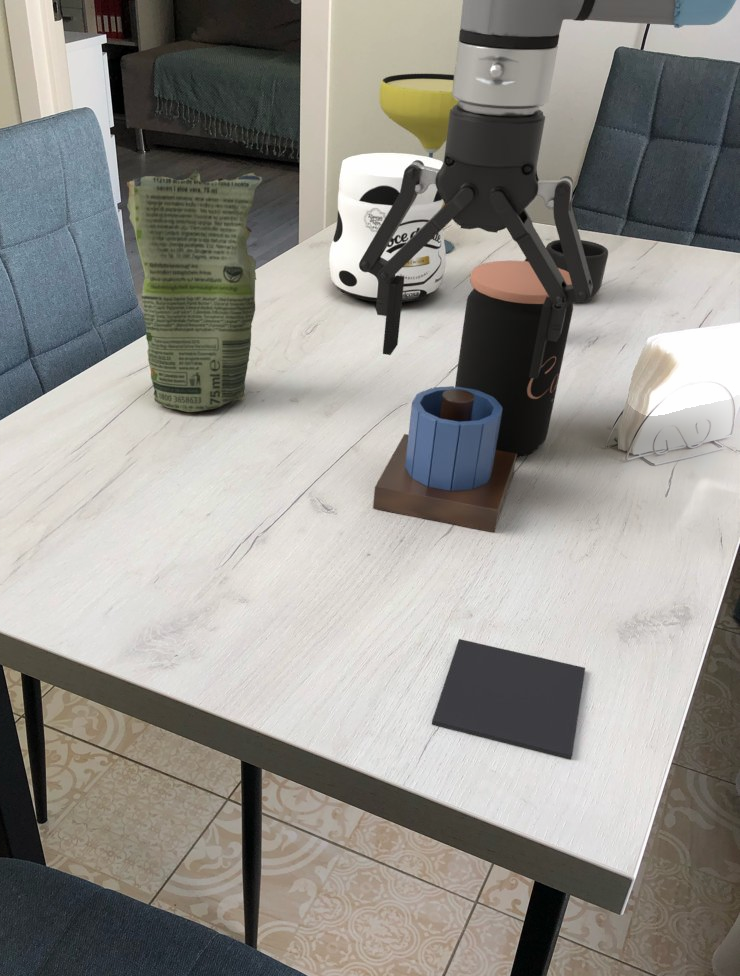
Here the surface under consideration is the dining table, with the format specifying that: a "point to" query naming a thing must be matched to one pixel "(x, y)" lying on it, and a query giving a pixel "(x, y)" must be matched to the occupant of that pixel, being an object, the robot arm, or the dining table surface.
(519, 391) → the coffee jar
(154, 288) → the pouch
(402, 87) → the cocktail glass
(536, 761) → the dining table surface
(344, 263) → the doce de leite jar
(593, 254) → the mug
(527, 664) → the mat
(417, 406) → the ring
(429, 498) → the stand
